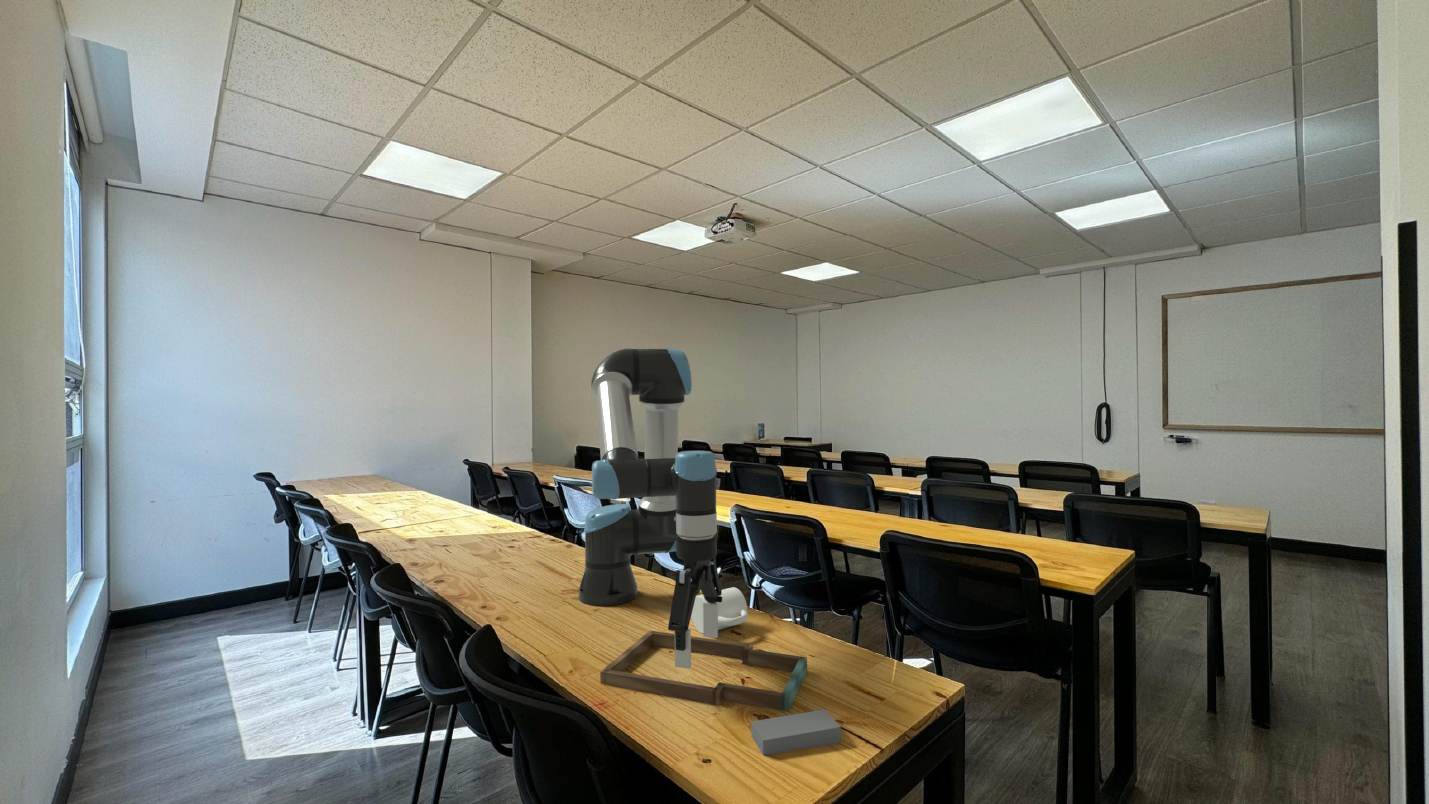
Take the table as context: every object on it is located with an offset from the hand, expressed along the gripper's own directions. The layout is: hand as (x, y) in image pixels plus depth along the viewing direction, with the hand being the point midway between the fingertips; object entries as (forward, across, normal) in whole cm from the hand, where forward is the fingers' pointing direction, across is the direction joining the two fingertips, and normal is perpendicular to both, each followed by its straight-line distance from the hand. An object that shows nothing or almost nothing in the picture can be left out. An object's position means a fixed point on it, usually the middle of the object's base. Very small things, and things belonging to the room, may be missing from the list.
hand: (697, 651), depth 106 cm
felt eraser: (+5, +15, +22) cm, 27 cm away
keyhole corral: (+4, 0, -4) cm, 5 cm away
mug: (+4, -21, -2) cm, 21 cm away
